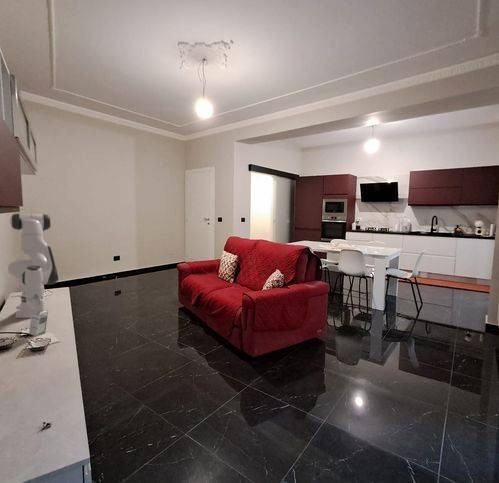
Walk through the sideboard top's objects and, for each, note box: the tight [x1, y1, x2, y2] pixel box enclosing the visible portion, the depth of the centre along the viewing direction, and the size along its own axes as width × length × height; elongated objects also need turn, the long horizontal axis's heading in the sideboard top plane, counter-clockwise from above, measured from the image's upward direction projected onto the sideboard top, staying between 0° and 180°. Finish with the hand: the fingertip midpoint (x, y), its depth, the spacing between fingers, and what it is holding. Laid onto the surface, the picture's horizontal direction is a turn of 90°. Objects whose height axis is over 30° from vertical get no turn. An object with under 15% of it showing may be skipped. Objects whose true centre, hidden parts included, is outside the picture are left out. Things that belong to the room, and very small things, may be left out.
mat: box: [25, 332, 61, 345], centre depth 166 cm, size 16×12×1 cm
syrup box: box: [28, 309, 49, 337], centre depth 173 cm, size 6×6×14 cm
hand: (34, 316), depth 175 cm, fingers closed
